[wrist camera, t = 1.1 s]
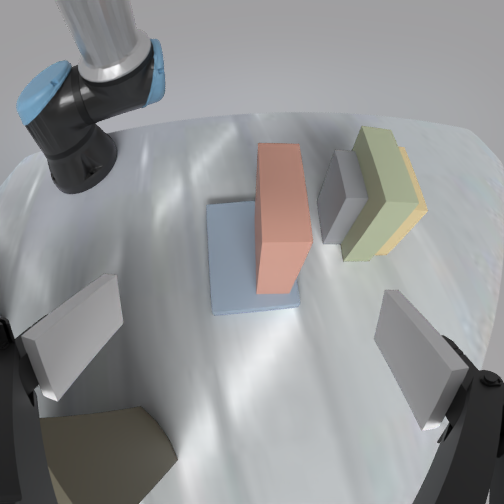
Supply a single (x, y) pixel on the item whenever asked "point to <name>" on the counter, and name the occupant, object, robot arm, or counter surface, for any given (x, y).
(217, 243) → the flat book
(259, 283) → the terracotta book
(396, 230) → the row books
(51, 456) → the book
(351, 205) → the stone bookend
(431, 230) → the counter surface
